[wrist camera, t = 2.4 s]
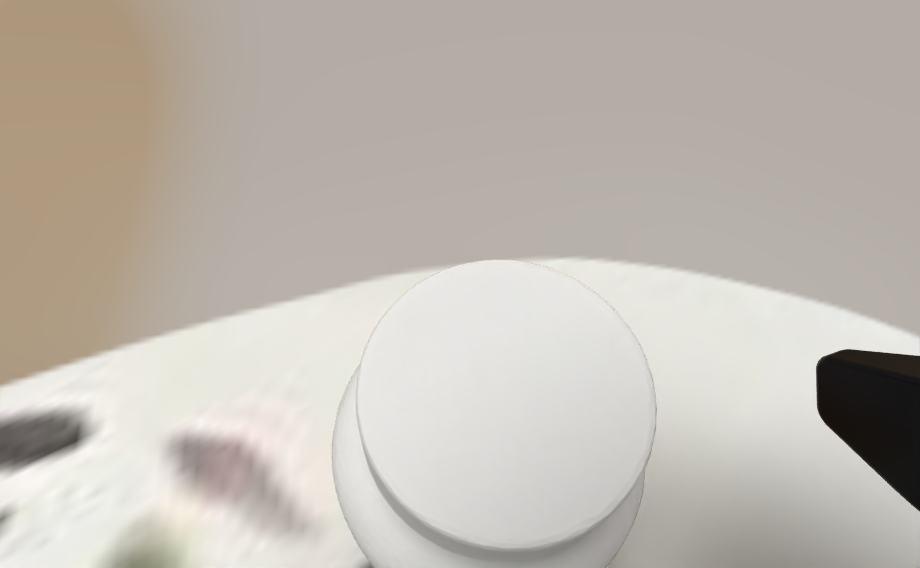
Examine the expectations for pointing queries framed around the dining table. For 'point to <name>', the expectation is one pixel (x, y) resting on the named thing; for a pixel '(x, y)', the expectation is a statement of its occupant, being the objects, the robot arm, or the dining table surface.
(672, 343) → the dining table surface
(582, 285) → the supplement bottle
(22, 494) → the dining table surface
